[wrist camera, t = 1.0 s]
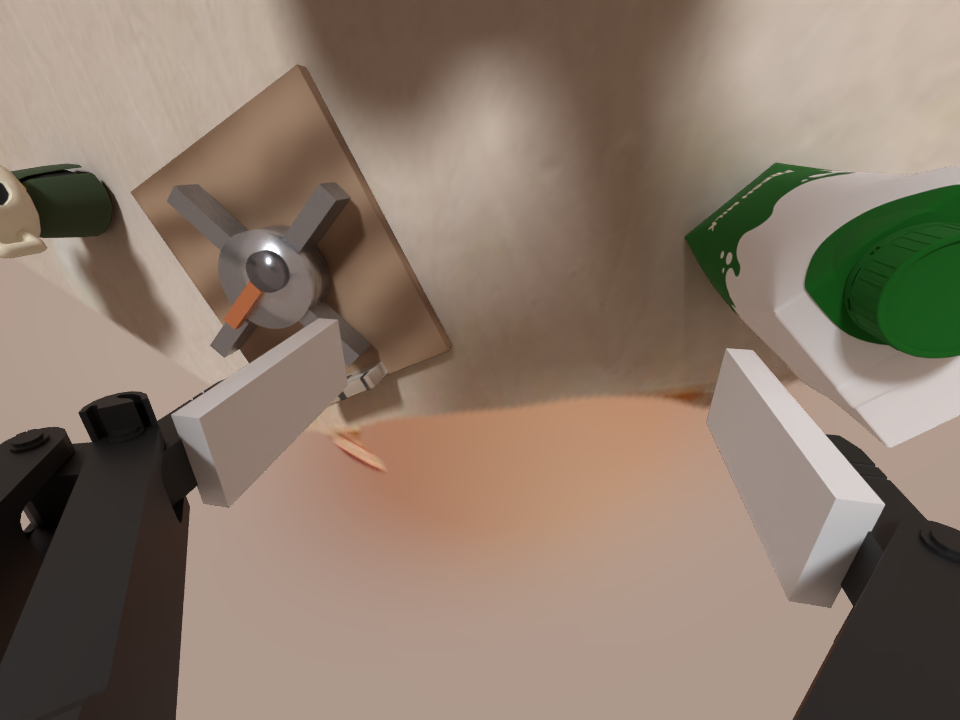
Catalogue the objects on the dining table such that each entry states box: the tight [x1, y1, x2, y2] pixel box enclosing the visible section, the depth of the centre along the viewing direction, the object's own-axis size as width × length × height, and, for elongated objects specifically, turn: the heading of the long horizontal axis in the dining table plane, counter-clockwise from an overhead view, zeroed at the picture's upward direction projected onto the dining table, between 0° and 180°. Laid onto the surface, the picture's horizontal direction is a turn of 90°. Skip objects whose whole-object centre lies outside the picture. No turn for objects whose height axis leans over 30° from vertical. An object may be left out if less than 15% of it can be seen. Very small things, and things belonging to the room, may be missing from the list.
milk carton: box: [685, 163, 960, 448], centre depth 22 cm, size 9×9×20 cm
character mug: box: [0, 164, 112, 258], centre depth 35 cm, size 11×7×13 cm, turn 59°
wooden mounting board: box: [131, 65, 452, 404], centre depth 38 cm, size 24×20×4 cm
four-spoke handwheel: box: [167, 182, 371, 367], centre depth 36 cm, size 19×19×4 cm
